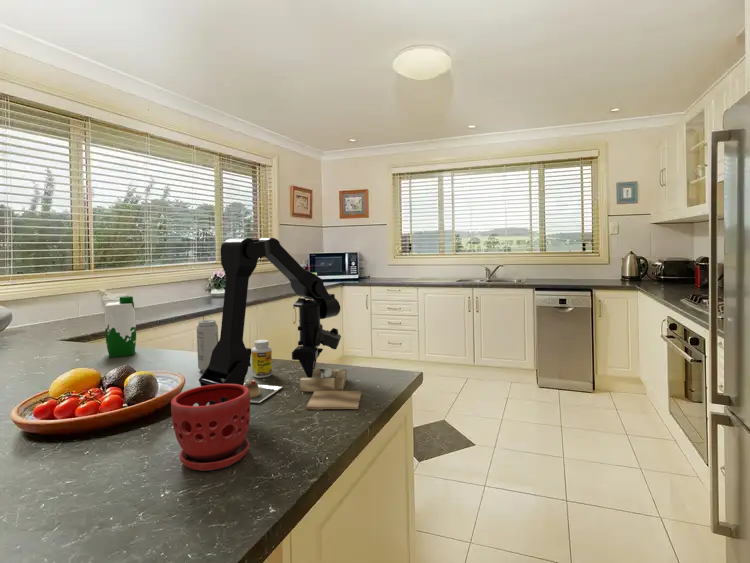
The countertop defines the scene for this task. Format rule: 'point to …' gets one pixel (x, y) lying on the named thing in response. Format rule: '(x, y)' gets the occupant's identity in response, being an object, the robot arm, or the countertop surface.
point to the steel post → (326, 372)
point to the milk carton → (120, 327)
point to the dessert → (255, 387)
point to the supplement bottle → (261, 359)
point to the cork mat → (334, 400)
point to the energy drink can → (206, 342)
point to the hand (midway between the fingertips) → (310, 376)
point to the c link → (324, 381)
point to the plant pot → (212, 425)
